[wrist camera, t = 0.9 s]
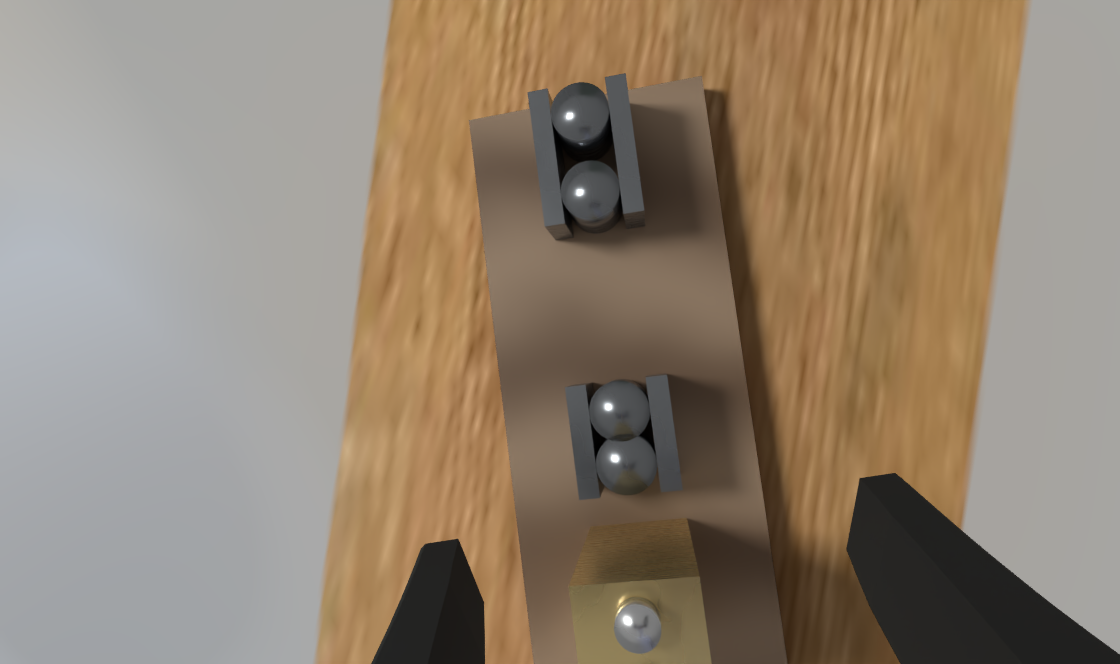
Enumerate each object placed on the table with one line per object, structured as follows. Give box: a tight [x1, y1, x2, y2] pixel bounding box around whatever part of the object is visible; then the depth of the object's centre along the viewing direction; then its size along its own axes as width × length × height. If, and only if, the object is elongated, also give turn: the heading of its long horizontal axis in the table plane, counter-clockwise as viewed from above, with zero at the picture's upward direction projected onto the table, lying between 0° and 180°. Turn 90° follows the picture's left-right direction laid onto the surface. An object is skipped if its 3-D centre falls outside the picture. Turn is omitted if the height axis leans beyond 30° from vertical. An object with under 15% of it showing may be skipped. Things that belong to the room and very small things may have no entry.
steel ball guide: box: [528, 73, 683, 500], centre depth 21 cm, size 14×3×2 cm, turn 7°
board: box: [469, 76, 788, 664], centre depth 23 cm, size 22×9×1 cm, turn 7°
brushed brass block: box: [569, 518, 712, 664], centre depth 19 cm, size 4×4×7 cm
